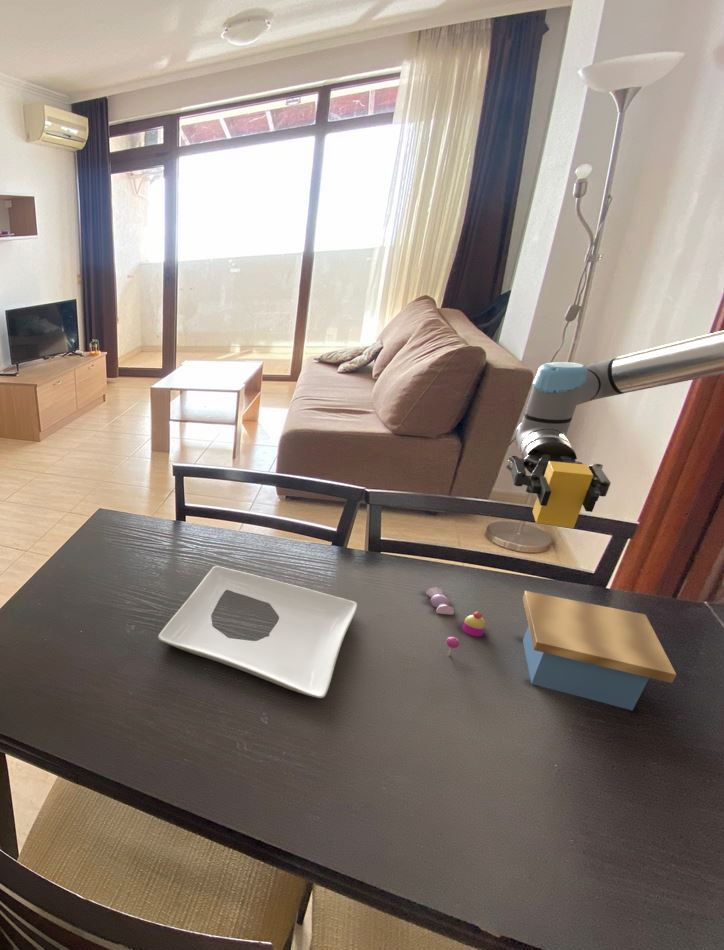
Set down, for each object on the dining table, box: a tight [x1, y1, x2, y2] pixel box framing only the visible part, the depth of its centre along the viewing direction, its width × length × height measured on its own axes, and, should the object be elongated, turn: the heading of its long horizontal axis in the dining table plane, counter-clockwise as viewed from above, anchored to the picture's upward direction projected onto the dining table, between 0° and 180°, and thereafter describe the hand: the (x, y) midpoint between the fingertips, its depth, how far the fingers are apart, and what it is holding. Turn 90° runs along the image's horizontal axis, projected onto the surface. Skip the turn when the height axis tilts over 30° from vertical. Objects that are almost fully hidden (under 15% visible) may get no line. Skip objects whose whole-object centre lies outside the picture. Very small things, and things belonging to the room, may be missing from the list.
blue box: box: [522, 625, 650, 711], centre depth 81 cm, size 11×11×8 cm
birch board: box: [522, 590, 677, 684], centre depth 79 cm, size 14×14×2 cm
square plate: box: [157, 565, 358, 699], centre depth 96 cm, size 27×27×4 cm
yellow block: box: [532, 461, 593, 530], centre depth 93 cm, size 5×5×10 cm
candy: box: [425, 586, 487, 656], centre depth 93 cm, size 18×8×6 cm, turn 164°
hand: (568, 501), depth 89 cm, fingers closed on yellow block, 5 cm apart
